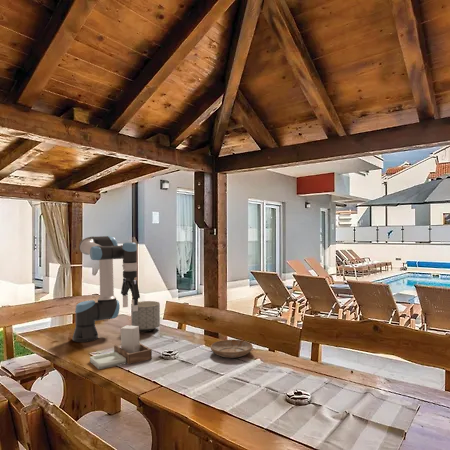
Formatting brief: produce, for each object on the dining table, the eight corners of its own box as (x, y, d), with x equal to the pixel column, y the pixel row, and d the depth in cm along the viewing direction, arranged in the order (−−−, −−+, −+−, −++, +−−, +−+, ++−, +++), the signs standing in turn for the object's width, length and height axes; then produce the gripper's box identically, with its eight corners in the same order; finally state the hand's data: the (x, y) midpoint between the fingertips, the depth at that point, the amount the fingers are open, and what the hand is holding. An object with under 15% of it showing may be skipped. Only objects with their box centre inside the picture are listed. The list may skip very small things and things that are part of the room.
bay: (114, 354, 211) (114, 345, 211) (136, 349, 218) (136, 340, 218) (128, 364, 195) (128, 354, 195) (151, 358, 202) (151, 349, 202)
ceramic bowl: (258, 350, 215) (258, 341, 215) (243, 364, 194) (243, 354, 194) (221, 345, 225) (221, 337, 225) (203, 357, 204) (203, 348, 204)
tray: (89, 361, 199) (89, 356, 199) (115, 356, 207) (115, 351, 207) (98, 369, 187) (98, 364, 187) (126, 363, 196) (125, 358, 196)
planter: (157, 334, 250) (156, 306, 250) (128, 334, 251) (128, 306, 251) (162, 326, 269) (162, 300, 269) (135, 326, 270) (135, 301, 270)
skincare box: (140, 354, 211) (140, 325, 211) (133, 357, 204) (133, 328, 205) (127, 352, 213) (127, 324, 214) (120, 356, 207) (120, 327, 207)
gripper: (114, 269, 217) (115, 306, 217) (132, 272, 197) (133, 313, 197) (127, 268, 221) (127, 304, 221) (146, 271, 202) (146, 311, 201)
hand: (130, 309), depth 209 cm, fingers open, 13 cm apart
